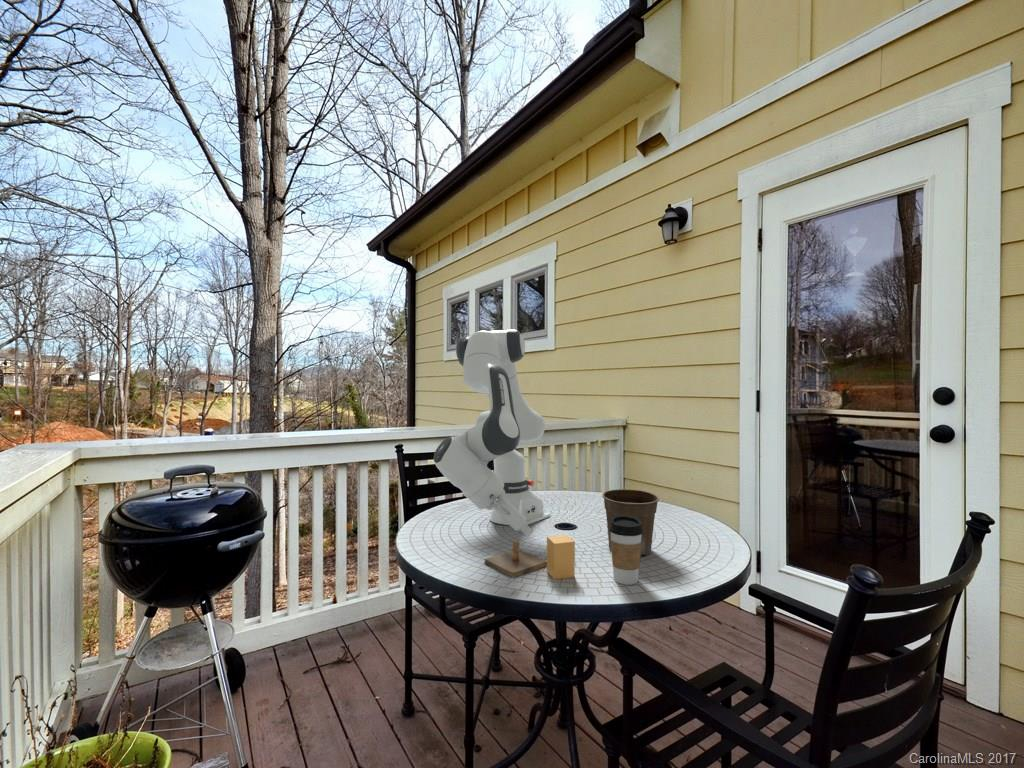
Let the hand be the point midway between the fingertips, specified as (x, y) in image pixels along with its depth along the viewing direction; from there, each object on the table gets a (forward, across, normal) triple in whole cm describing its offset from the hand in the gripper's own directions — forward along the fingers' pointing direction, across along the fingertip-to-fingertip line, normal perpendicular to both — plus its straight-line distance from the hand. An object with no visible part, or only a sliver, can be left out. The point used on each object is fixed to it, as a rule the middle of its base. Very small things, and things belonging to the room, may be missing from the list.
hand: (524, 527), depth 121 cm
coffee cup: (+26, -8, -8) cm, 29 cm away
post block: (+9, +9, +9) cm, 16 cm away
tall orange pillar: (+16, 0, +2) cm, 16 cm away
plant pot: (+34, +10, -16) cm, 39 cm away
